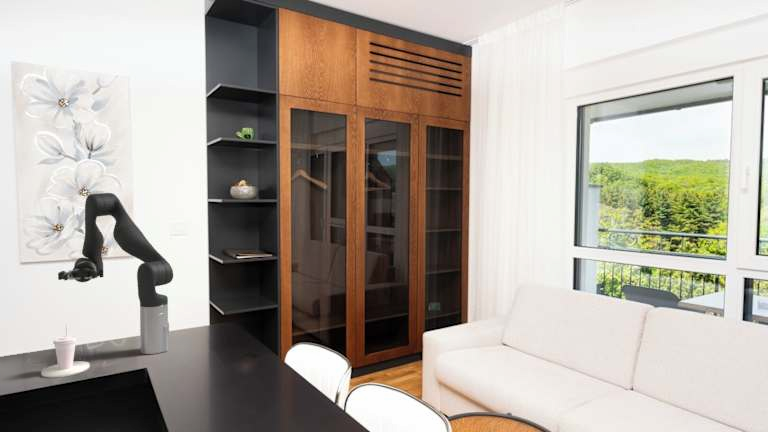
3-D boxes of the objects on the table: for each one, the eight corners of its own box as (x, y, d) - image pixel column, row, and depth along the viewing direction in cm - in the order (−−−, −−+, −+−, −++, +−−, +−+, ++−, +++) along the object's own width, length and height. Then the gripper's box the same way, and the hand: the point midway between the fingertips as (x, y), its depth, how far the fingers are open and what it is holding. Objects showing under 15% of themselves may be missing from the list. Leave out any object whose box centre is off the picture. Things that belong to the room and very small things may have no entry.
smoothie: (68, 371, 146) (67, 328, 145) (48, 371, 146) (48, 327, 146) (81, 364, 152) (81, 322, 152) (62, 364, 152) (62, 322, 152)
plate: (94, 361, 157) (94, 359, 157) (82, 375, 145) (82, 372, 145) (50, 365, 153) (50, 363, 153) (34, 379, 141) (34, 377, 141)
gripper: (62, 263, 178) (55, 267, 164) (105, 261, 185) (102, 265, 170) (63, 282, 178) (55, 288, 164) (105, 279, 185) (102, 285, 171)
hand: (79, 276), depth 167 cm, fingers open, 8 cm apart
